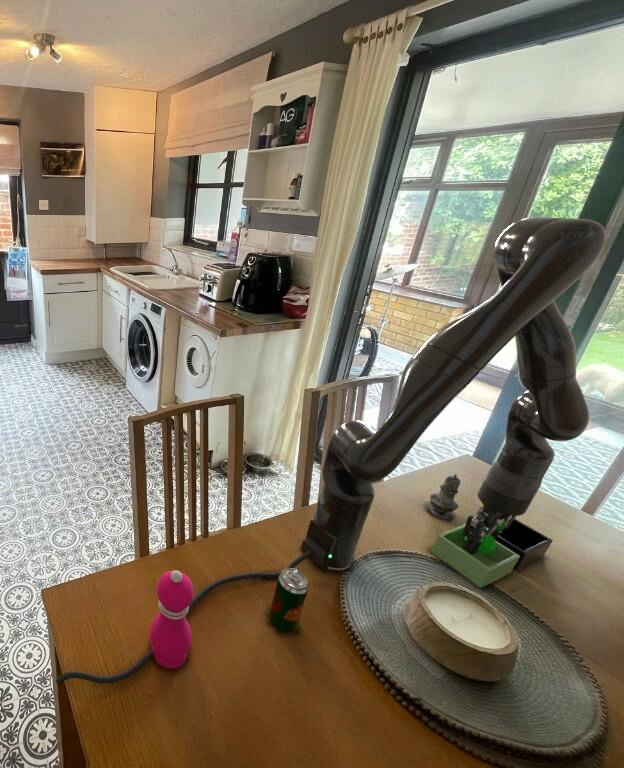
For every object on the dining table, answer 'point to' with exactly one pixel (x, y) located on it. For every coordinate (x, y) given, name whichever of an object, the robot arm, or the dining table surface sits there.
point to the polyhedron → (486, 545)
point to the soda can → (288, 600)
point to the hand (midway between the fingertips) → (476, 547)
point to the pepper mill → (172, 620)
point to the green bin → (474, 558)
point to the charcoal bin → (524, 542)
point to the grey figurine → (445, 498)
